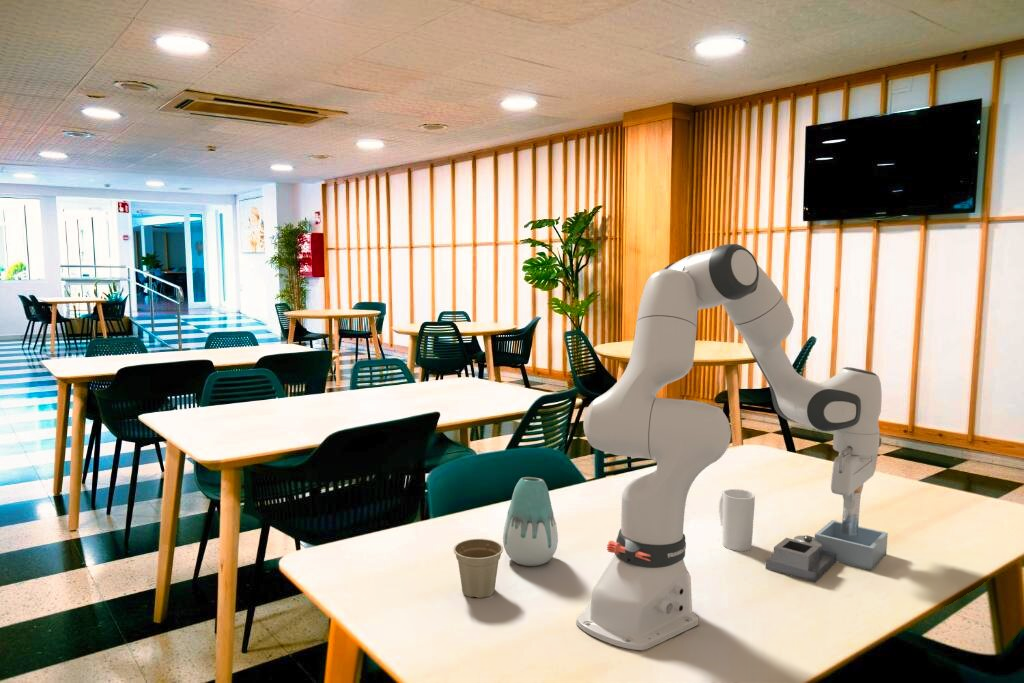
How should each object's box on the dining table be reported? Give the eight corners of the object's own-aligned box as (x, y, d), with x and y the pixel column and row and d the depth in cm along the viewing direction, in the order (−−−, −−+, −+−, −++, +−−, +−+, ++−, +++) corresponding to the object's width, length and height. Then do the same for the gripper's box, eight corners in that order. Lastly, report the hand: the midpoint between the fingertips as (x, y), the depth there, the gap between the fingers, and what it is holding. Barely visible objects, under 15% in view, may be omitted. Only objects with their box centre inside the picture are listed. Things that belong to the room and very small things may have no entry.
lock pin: (855, 536, 153) (858, 487, 151) (839, 532, 155) (842, 483, 153) (859, 532, 155) (862, 483, 154) (844, 528, 157) (847, 480, 156)
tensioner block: (815, 582, 141) (816, 557, 140) (765, 568, 147) (766, 544, 147) (835, 562, 151) (837, 539, 150) (788, 550, 157) (789, 527, 157)
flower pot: (484, 607, 130) (485, 562, 129) (443, 594, 135) (443, 550, 134) (512, 588, 138) (512, 545, 137) (472, 576, 142) (472, 535, 142)
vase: (529, 544, 159) (530, 466, 157) (568, 560, 151) (570, 478, 149) (491, 559, 151) (492, 477, 149) (530, 576, 143) (531, 490, 141)
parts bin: (871, 570, 147) (873, 548, 146) (813, 555, 154) (814, 534, 154) (886, 554, 155) (887, 532, 155) (830, 540, 163) (832, 520, 162)
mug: (759, 549, 157) (761, 496, 156) (734, 553, 155) (736, 500, 154) (730, 533, 167) (732, 483, 166) (706, 536, 165) (708, 486, 163)
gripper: (857, 455, 143) (853, 521, 144) (883, 436, 158) (879, 497, 160) (824, 449, 147) (821, 514, 148) (853, 432, 162) (850, 490, 164)
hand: (851, 505), depth 154 cm, fingers closed on lock pin, 3 cm apart
